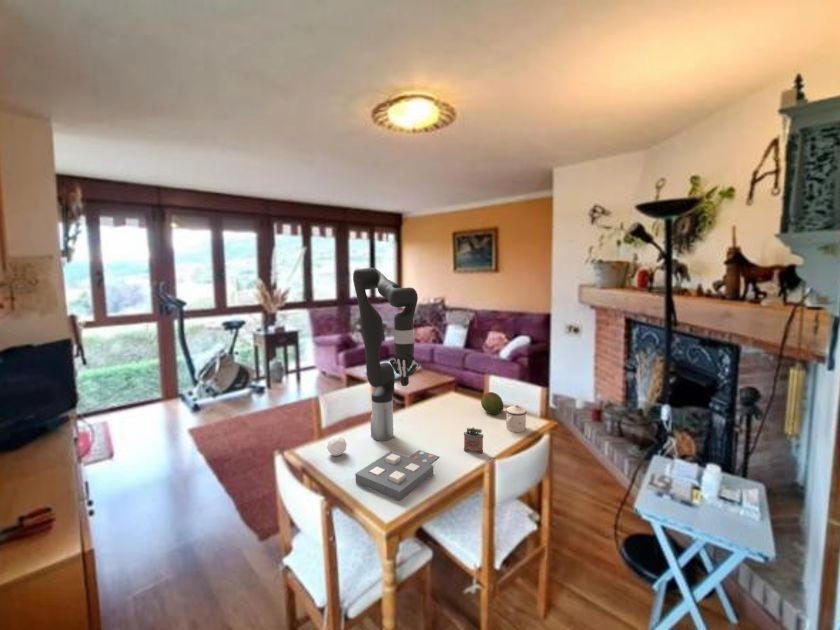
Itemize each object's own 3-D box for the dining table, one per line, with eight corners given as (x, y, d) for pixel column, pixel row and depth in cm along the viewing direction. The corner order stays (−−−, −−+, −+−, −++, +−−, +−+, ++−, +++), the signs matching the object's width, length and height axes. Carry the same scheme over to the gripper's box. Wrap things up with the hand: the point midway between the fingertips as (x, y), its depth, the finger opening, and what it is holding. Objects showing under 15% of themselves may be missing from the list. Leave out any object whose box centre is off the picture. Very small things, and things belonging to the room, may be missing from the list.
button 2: (404, 474, 146) (404, 467, 145) (411, 469, 149) (411, 463, 149) (413, 477, 143) (413, 470, 143) (420, 472, 147) (420, 466, 146)
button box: (355, 482, 143) (355, 473, 142) (391, 459, 159) (390, 451, 159) (400, 501, 132) (399, 491, 131) (433, 474, 148) (433, 465, 147)
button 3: (369, 478, 144) (369, 471, 143) (376, 473, 147) (376, 466, 146) (378, 481, 141) (377, 474, 141) (385, 476, 145) (385, 469, 144)
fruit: (491, 406, 214) (491, 388, 213) (510, 413, 204) (510, 394, 203) (476, 411, 207) (476, 393, 205) (495, 419, 197) (495, 399, 196)
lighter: (462, 451, 165) (462, 428, 163) (464, 447, 168) (465, 425, 166) (482, 454, 162) (482, 431, 160) (483, 451, 165) (484, 427, 164)
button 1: (385, 464, 151) (385, 457, 150) (392, 459, 154) (392, 453, 154) (394, 467, 148) (393, 460, 148) (400, 462, 152) (400, 456, 151)
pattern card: (407, 458, 159) (407, 457, 159) (418, 450, 166) (418, 449, 166) (428, 465, 154) (428, 464, 154) (439, 457, 160) (439, 456, 160)
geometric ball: (340, 462, 163) (341, 452, 157) (323, 454, 164) (323, 444, 158) (349, 446, 168) (350, 436, 163) (332, 438, 169) (333, 429, 164)
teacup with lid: (511, 422, 192) (512, 399, 191) (529, 428, 186) (530, 404, 185) (498, 431, 183) (499, 406, 182) (516, 436, 178) (517, 411, 176)
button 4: (388, 482, 138) (388, 475, 138) (396, 477, 142) (396, 470, 141) (398, 486, 136) (397, 479, 136) (405, 481, 139) (405, 474, 139)
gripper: (384, 340, 151) (385, 385, 154) (412, 344, 143) (413, 391, 146) (396, 337, 157) (397, 380, 160) (424, 341, 150) (424, 385, 152)
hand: (404, 385), depth 153 cm, fingers closed
